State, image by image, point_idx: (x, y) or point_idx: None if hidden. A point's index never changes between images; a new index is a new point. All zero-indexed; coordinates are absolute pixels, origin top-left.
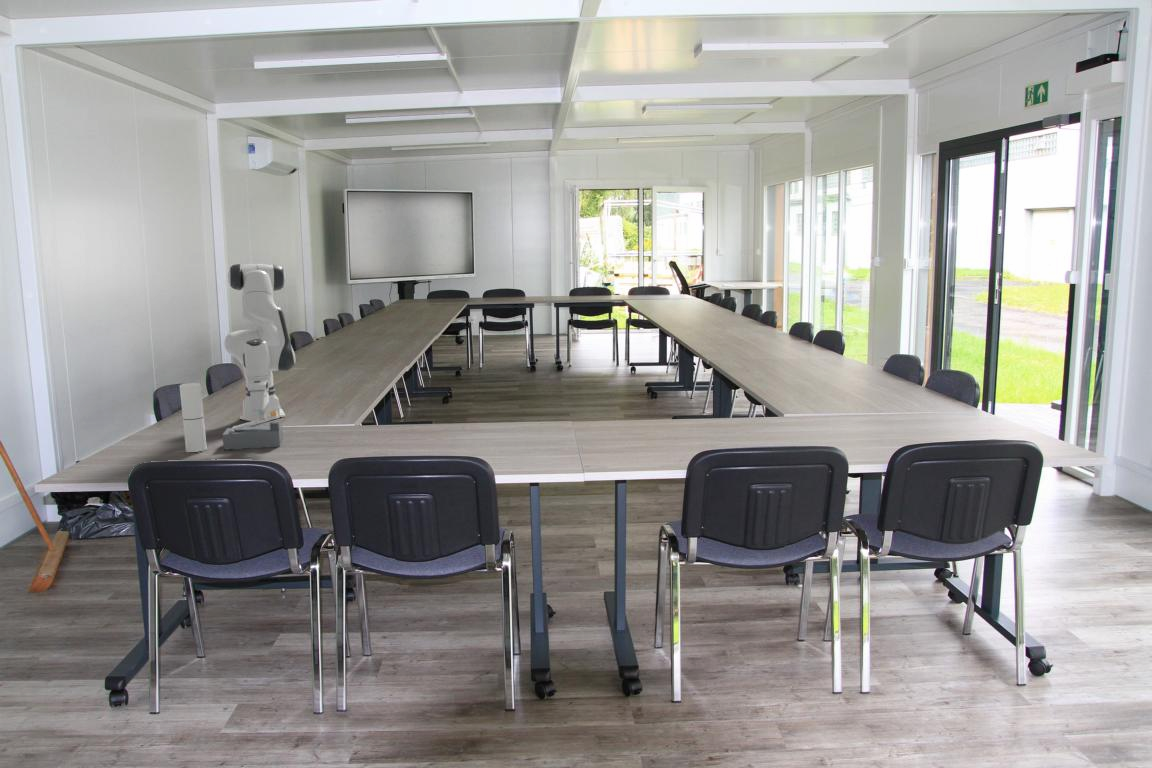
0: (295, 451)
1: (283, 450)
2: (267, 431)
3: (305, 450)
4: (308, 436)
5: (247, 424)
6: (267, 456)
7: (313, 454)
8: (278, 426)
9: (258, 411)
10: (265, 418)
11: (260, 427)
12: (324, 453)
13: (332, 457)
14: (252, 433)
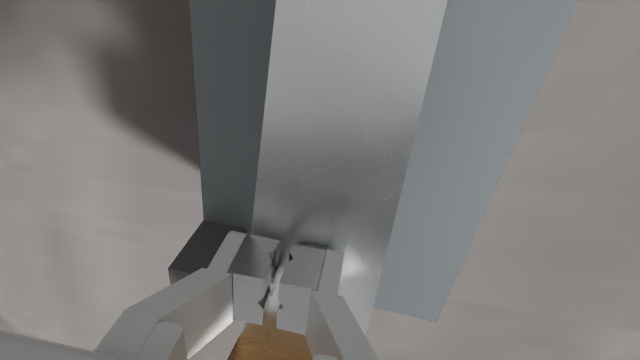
0: (127, 243)
1: (156, 201)
2: (213, 202)
3: (140, 278)
4: (440, 344)
5: (273, 51)
6: (32, 113)
7: (69, 287)
8: None
9: (135, 310)
10: (277, 283)
11: (424, 168)
12: (83, 317)
13: (27, 321)
14: (197, 74)
